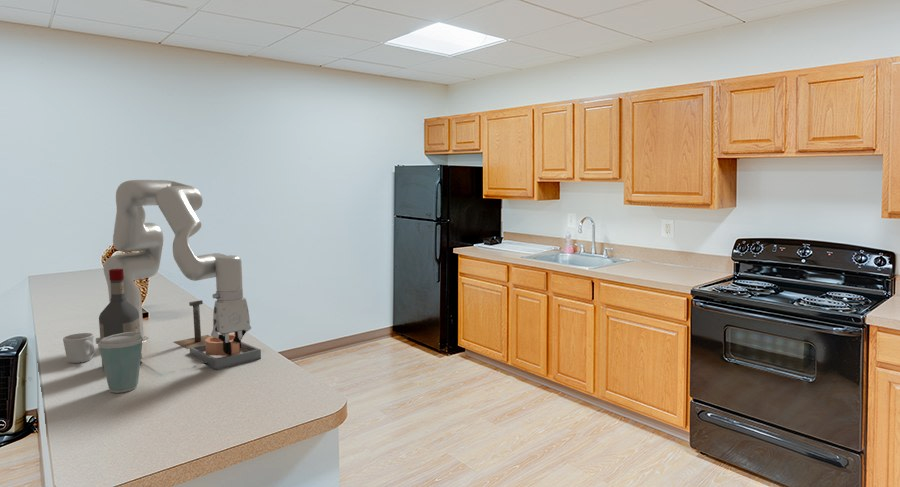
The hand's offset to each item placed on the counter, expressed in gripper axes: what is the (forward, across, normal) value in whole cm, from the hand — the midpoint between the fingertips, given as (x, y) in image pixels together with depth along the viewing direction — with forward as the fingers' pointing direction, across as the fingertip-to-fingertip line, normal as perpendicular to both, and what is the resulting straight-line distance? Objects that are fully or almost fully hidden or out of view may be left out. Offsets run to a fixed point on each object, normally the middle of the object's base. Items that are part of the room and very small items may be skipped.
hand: (232, 352), depth 171 cm
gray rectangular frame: (+3, 0, +5) cm, 6 cm away
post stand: (+3, 0, +26) cm, 26 cm away
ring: (+1, 0, +5) cm, 5 cm away
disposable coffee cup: (+3, -31, 0) cm, 31 cm away
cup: (+3, -32, +35) cm, 47 cm away
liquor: (+3, -25, +21) cm, 33 cm away
